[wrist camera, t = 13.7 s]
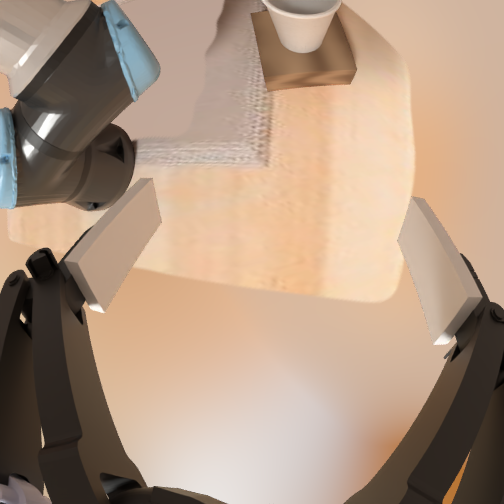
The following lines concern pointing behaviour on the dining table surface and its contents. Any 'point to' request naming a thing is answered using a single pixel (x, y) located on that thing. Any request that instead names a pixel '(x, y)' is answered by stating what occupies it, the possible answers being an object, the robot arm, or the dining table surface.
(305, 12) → the dixie cup
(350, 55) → the walnut block
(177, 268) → the dining table surface
